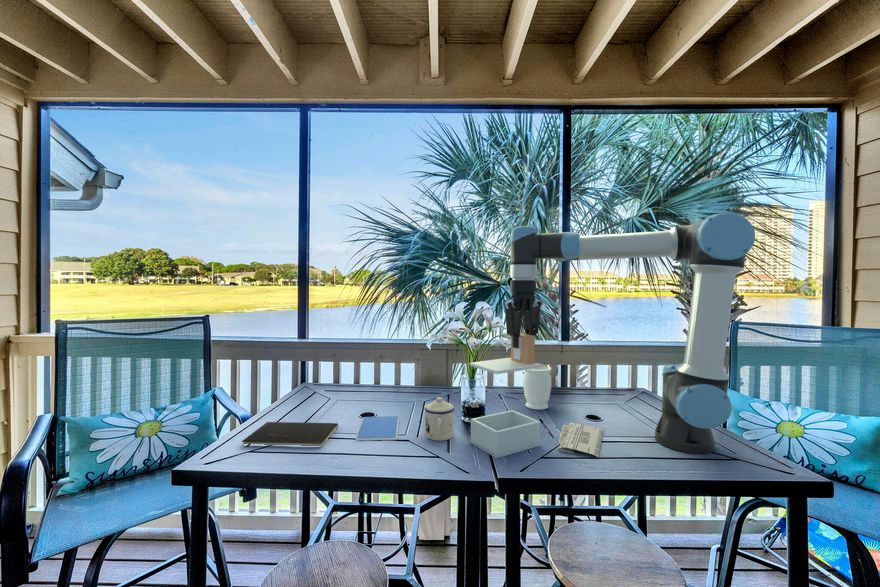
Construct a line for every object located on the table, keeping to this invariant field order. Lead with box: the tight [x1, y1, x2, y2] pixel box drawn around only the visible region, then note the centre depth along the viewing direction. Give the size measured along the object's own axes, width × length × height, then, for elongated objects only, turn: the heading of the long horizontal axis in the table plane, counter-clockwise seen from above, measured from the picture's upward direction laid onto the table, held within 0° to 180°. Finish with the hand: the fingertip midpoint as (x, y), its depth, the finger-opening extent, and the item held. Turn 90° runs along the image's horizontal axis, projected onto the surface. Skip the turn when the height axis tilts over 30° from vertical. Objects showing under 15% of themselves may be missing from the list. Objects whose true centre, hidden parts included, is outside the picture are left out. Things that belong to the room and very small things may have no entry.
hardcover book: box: [241, 421, 339, 447], centre depth 123 cm, size 16×23×2 cm
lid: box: [469, 332, 543, 375], centre depth 117 cm, size 13×17×9 cm
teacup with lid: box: [424, 396, 455, 442], centre depth 122 cm, size 12×9×12 cm
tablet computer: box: [354, 415, 400, 441], centre depth 129 cm, size 19×13×1 cm, turn 4°
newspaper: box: [558, 422, 604, 459], centre depth 120 cm, size 23×12×2 cm, turn 155°
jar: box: [522, 364, 552, 411], centre depth 152 cm, size 11×10×15 cm
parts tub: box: [470, 409, 541, 459], centre depth 117 cm, size 12×16×7 cm
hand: (522, 358), depth 120 cm, fingers closed on lid, 3 cm apart
